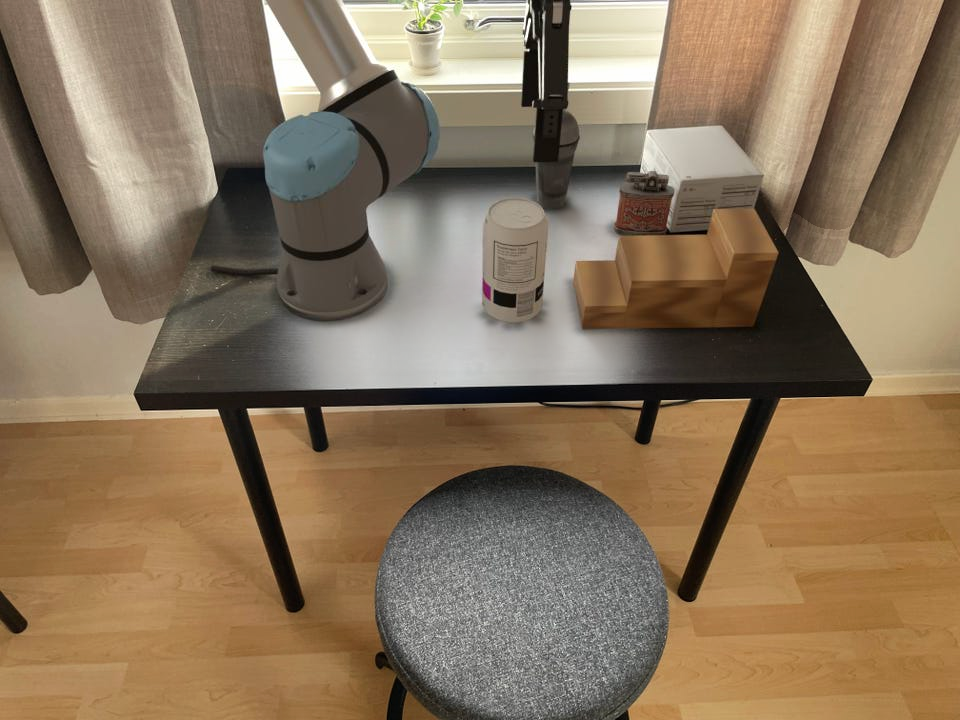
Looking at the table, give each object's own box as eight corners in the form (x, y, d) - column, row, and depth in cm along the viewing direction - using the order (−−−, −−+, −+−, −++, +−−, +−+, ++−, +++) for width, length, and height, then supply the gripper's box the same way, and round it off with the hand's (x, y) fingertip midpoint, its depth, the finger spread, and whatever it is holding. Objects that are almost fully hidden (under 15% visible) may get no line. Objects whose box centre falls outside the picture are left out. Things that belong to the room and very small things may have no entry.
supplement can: (469, 306, 101) (469, 212, 91) (510, 280, 106) (514, 188, 95) (513, 334, 97) (517, 239, 87) (554, 306, 101) (563, 212, 91)
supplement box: (750, 228, 116) (766, 174, 109) (669, 234, 114) (681, 180, 108) (710, 174, 128) (723, 123, 121) (637, 179, 126) (646, 128, 120)
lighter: (665, 226, 116) (676, 168, 109) (666, 238, 113) (679, 180, 107) (613, 223, 116) (621, 166, 110) (614, 235, 114) (622, 177, 107)
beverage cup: (539, 185, 125) (546, 67, 111) (579, 195, 122) (592, 76, 109) (521, 206, 120) (527, 86, 106) (563, 217, 118) (575, 95, 104)
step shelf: (581, 329, 98) (591, 255, 90) (572, 283, 105) (581, 210, 97) (753, 326, 99) (778, 252, 90) (732, 281, 106) (754, 208, 97)
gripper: (615, -34, 63) (587, 186, 77) (572, -105, 81) (556, 85, 95) (527, -34, 62) (516, 188, 77) (504, -105, 80) (498, 86, 95)
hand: (538, 131), depth 86 cm, fingers open, 13 cm apart
